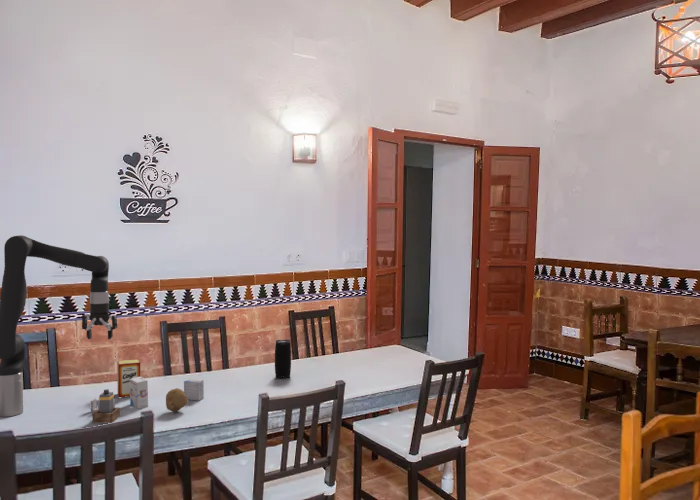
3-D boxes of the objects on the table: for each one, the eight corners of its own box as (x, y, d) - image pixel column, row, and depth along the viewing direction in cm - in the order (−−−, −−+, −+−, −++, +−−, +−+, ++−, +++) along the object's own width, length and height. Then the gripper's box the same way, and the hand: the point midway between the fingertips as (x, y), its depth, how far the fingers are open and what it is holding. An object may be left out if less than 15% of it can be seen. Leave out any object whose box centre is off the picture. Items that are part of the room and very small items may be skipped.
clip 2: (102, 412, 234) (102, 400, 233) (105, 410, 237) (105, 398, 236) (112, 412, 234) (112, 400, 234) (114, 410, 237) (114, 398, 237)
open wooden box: (92, 422, 221) (92, 414, 221) (100, 416, 229) (100, 407, 229) (112, 422, 221) (112, 413, 221) (120, 416, 229) (120, 407, 229)
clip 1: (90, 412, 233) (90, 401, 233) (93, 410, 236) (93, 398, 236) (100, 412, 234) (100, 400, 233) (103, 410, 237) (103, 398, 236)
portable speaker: (290, 374, 297) (290, 338, 297) (291, 379, 288) (291, 342, 287) (274, 375, 296) (274, 339, 295) (275, 379, 287) (275, 342, 286)
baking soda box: (138, 391, 264) (138, 358, 264) (140, 395, 258) (140, 361, 258) (117, 394, 260) (117, 360, 259) (118, 397, 254) (118, 363, 253)
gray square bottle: (99, 419, 223) (99, 391, 223) (103, 416, 227) (103, 388, 227) (109, 419, 223) (109, 391, 223) (113, 416, 228) (113, 388, 227)
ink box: (129, 404, 245) (129, 378, 244) (140, 402, 248) (140, 376, 248) (137, 408, 239) (137, 382, 238) (148, 406, 242) (148, 379, 242)
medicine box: (204, 398, 255) (204, 379, 254) (198, 401, 250) (198, 382, 250) (189, 396, 257) (188, 378, 256) (183, 399, 252) (183, 380, 252)
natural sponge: (190, 408, 240) (190, 385, 240) (184, 415, 231) (184, 391, 231) (169, 408, 240) (168, 385, 239) (162, 415, 231) (162, 391, 230)
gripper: (78, 303, 235) (79, 340, 236) (112, 303, 236) (113, 340, 236) (86, 300, 243) (86, 337, 243) (119, 300, 243) (119, 337, 244)
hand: (99, 338), depth 240 cm, fingers open, 8 cm apart
